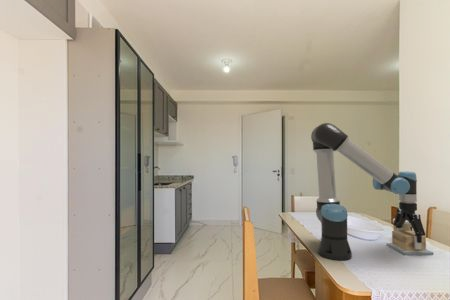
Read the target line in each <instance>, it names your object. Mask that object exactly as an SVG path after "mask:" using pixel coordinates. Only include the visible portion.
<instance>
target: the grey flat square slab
mask: <svg viewBox="0 0 450 300" xmlns="http://www.w3.org/2000/svg"><path fill="white" fill-rule="evenodd" d="M385 244H386V246H387V248H388V247H389V249H390V248H391V249H392V250H393V251H396V252H398V253H399V254H401V255H402V256H434V252H433V251H431V250H428V249H426V251H404V250H402V249H401V248H399V247H397V246H395V245H393V244H392V243H390V242H387V243H385Z"/></svg>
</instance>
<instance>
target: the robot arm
mask: <svg viewBox="0 0 450 300" xmlns="http://www.w3.org/2000/svg"><path fill="white" fill-rule="evenodd" d="M310 136H311V137H310V138H311V139H310V140H311V142H312V151H313V152H314V153H316V154H315V155H316V167H317V168H316V169H317V183H318V198H317V199H316V209H315V213H316V215H315V216H316V217H317V219H318V221H320V224H321V237H320V240H319V244H318V247H317V254H319V256H321V257H322V258H325V259H329V260H335V261H347V260H348V261H349V260H350V259H352V257H353V255H352V249H351V246H350V244H349V241H348V240H349V239H348V216H349V215H348V210H347V208H346V207H345V206H343V205H341V203H340V202H341V201H340V199H339V198H338V197H337V190H336V189H337V187H336V176H335V175H336V173H335V159H334V153H335V152H339V153H340V154H341V155H342V156H343V157H345V158H346V159H348V160H349V161H350V162H352V163H353V164H354V165H356V166H357V167H359V168H360V169H361V170H363V171H364V172H365V173H366V174H368V175H369V176H371V177H372V186H373V189H375V190H376V191H377V190H379V191H387V192H389V193H393V194H395V195H398V201H399V202H398V208H397V209H396V214H395V220H394V224H393V223H392V226H393V225H394V226H396V228H397V231H403V227H402V226H403V224H404V223H405V221H406V220H407V221H409V223H410V224H411V226H412V231H413V232H415V235H414V241H415V249H421V243H422V236H426V232H425V229H424V226H423V222H422V219H421V214H420V213H419V214H416V211H417V210H418V204H417V202H418V200H417V197H418V196H417V195H418V194H417V185H418V184H417V182H418V180H417V173H416V172H414V171H399V172H398V174H396V173H395V172H393V171H392V170H391V169H390V168H388V167H387V166H385V165H384V164H383V163H381V161H379V160H378V159H376V158H374V157H373V156H372V155H371V154H369V153H368V152H367V151H365V150H364V149H363V148H362V147H360V146H359V145H357V144H356V143H354V142H353V141H352V140H351V139H350V137H349V135H348V134H347V133H345V132H344V131H343V130H341V129H340V128H339V127H338V126H336V125H334V124H332V123H329V122H324V123H321V124H319V125H318V126H316V127H315V128H314V129H313V130H312V132H311V135H310Z"/></svg>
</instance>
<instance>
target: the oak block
mask: <svg viewBox="0 0 450 300" xmlns="http://www.w3.org/2000/svg"><path fill="white" fill-rule="evenodd" d="M391 231H392V232H391V235H392V237H391V238H392V239H391V242H392V244H393V245H395V246H397V247H399V248H401V249H402V250H404V251H426V250H427V242H426V241H427V240H426V238H427V236H426V235H425V236H422V243H421V249H415V241H414V235H415V232H414V230H412V231H394V230H391Z"/></svg>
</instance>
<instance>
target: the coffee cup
mask: <svg viewBox="0 0 450 300" xmlns="http://www.w3.org/2000/svg"><path fill="white" fill-rule="evenodd" d="M394 220H395V218H393V219H392V227H393V229H392V230H393V231H397V228H396V226H394V225H393V224H394ZM402 227H403V231H413V228H412V226H411V224H410V223H409V221H407V220H406V221H405V223H404V224H403V226H402Z"/></svg>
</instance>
